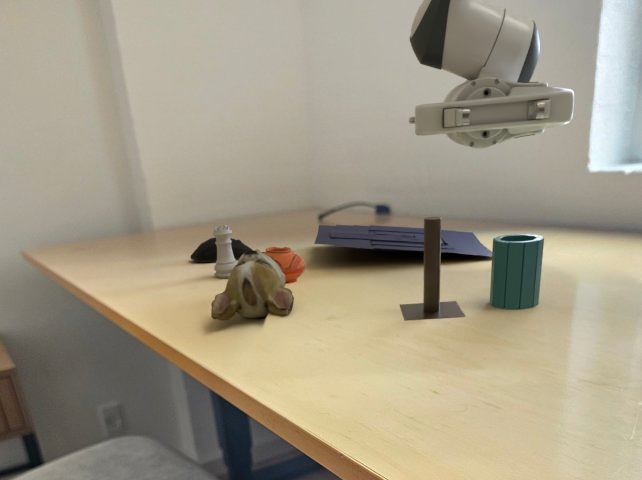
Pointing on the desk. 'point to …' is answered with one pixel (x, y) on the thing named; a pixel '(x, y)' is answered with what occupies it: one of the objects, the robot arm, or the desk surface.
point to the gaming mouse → (209, 250)
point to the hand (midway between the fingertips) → (503, 113)
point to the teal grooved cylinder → (516, 271)
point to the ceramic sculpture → (253, 289)
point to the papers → (397, 239)
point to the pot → (287, 262)
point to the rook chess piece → (224, 252)
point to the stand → (431, 280)
